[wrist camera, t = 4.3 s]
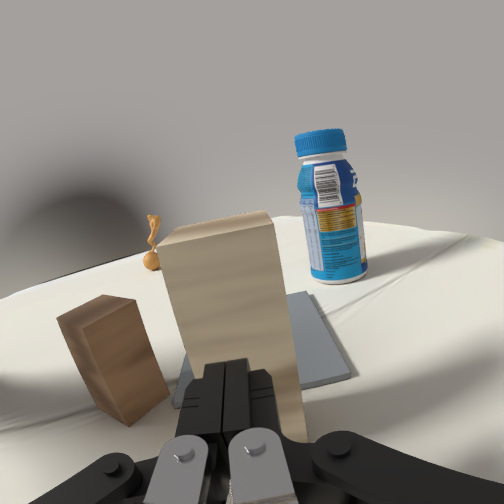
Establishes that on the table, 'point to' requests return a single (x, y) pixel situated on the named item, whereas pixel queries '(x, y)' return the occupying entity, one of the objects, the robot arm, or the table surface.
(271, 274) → the beech block
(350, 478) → the robot arm
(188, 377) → the slate mat
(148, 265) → the figurine
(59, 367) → the table surface
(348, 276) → the beverage bottle
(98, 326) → the walnut block
